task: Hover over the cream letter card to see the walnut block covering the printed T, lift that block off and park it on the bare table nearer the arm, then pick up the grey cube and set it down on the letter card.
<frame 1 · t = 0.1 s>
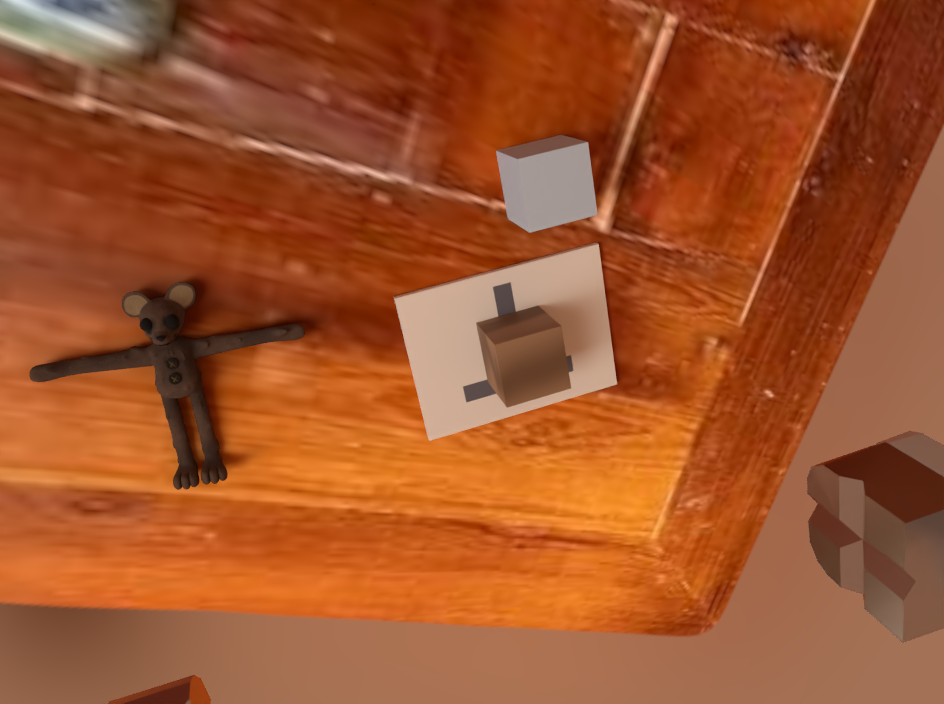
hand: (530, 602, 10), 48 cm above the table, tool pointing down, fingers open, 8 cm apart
letter card: (510, 341, 62), on the table
grey cube: (534, 176, 58), on the table
walnut block: (512, 344, 62), point 1 cm above the table, touching letter card
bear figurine: (182, 378, 57), on the table
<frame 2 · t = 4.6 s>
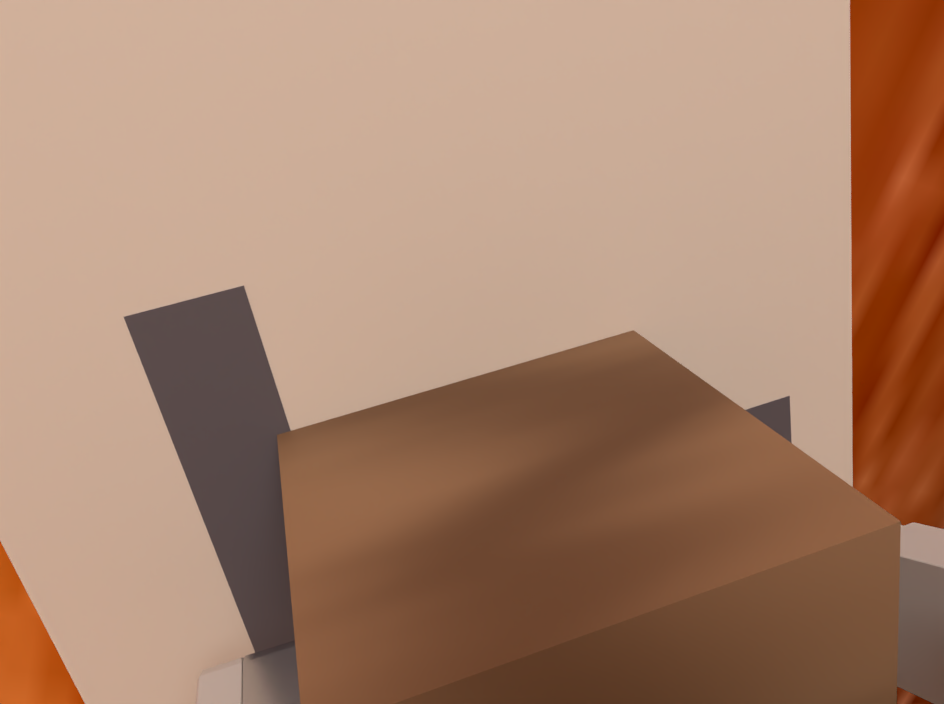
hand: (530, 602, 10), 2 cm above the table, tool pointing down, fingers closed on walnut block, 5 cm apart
letter card: (484, 514, 12), on the table
walnut block: (495, 532, 12), point 1 cm above the table, touching gripper, letter card
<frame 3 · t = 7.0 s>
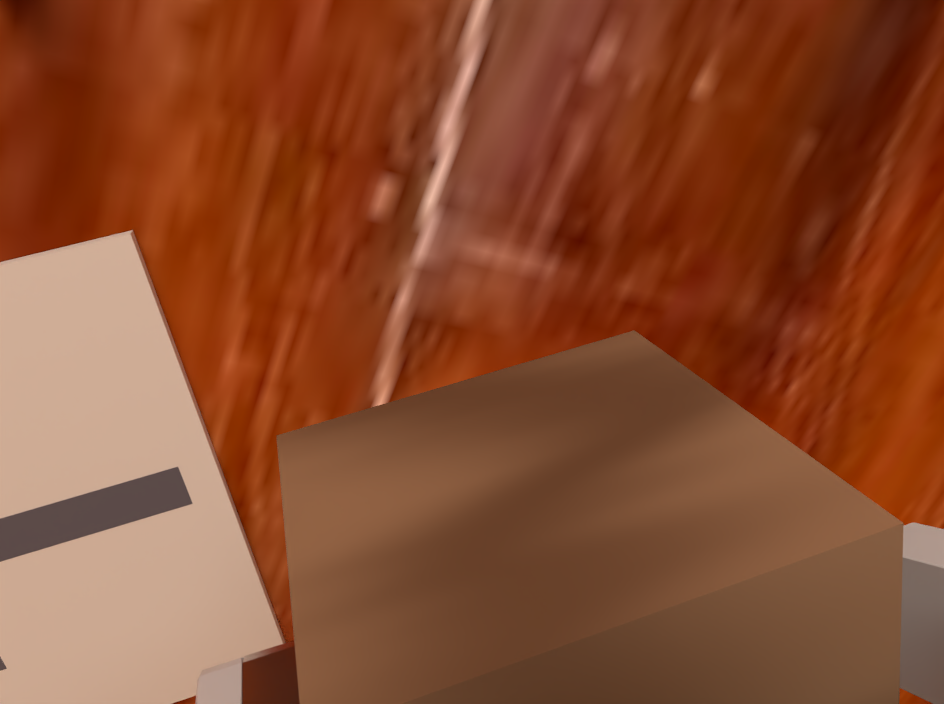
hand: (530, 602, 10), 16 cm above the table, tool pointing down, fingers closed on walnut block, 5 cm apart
letter card: (27, 524, 25), on the table
walnut block: (496, 533, 12), point 15 cm above the table, touching gripper
when the fingers open (3 cm above the table, at t = 9.7 s): walnut block drops 2 cm, on the table.
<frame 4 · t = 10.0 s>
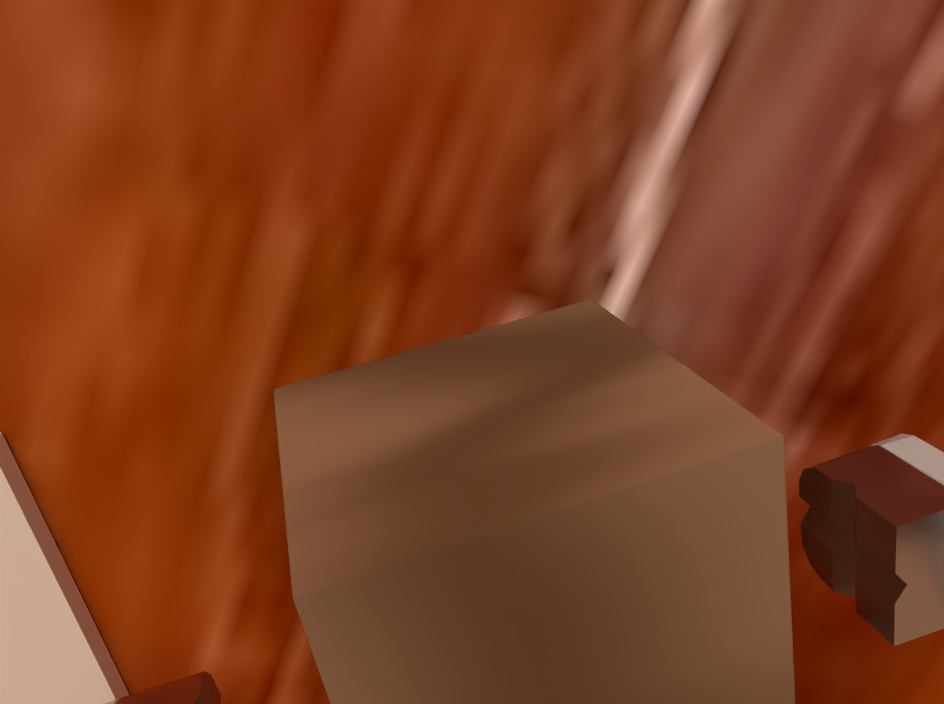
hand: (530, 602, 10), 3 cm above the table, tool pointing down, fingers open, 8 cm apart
walnut block: (468, 479, 13), on the table
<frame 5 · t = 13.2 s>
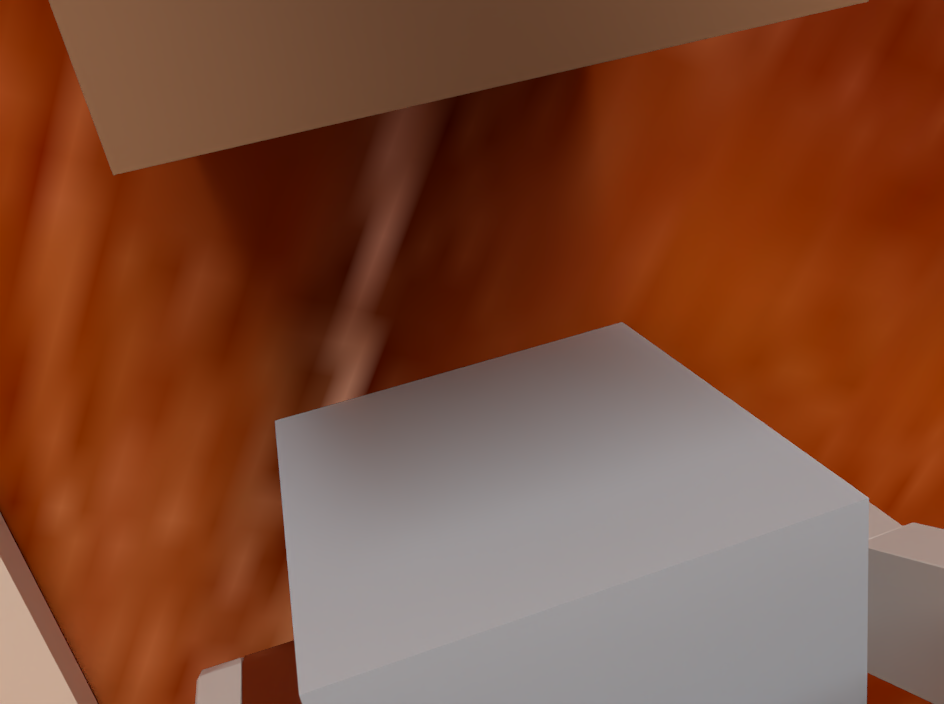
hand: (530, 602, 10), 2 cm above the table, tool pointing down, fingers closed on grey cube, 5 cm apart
grey cube: (487, 518, 12), on the table, touching gripper
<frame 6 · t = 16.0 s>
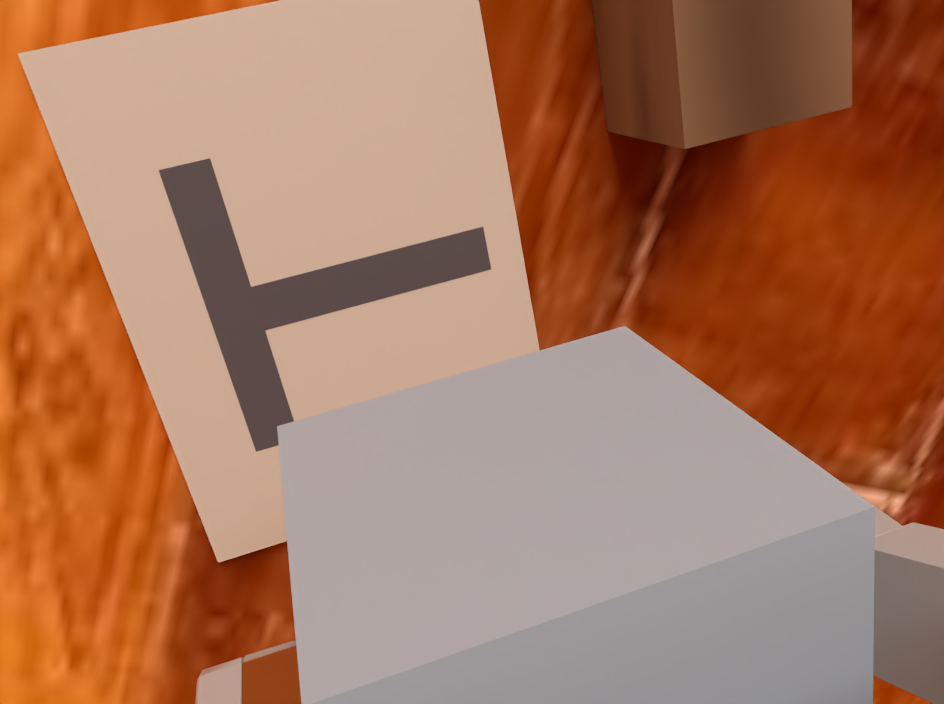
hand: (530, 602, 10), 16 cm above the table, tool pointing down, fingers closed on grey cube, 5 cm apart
letter card: (332, 284, 25), on the table
grey cube: (490, 523, 12), point 14 cm above the table, touching gripper
walnut block: (670, 31, 25), on the table
when the fingers open (4 cm above the table, at t = 18.6 s): grey cube drops 1 cm, resting on letter card.
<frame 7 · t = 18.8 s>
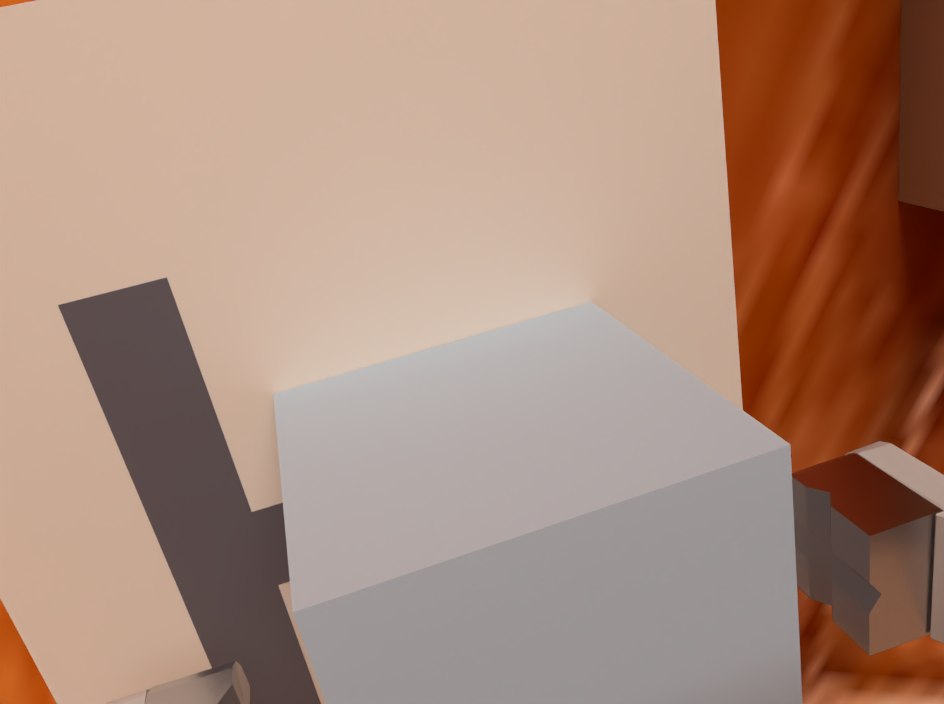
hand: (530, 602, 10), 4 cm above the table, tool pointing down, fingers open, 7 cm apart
letter card: (401, 488, 13), on the table
grey cube: (470, 485, 13), point 1 cm above the table, touching letter card
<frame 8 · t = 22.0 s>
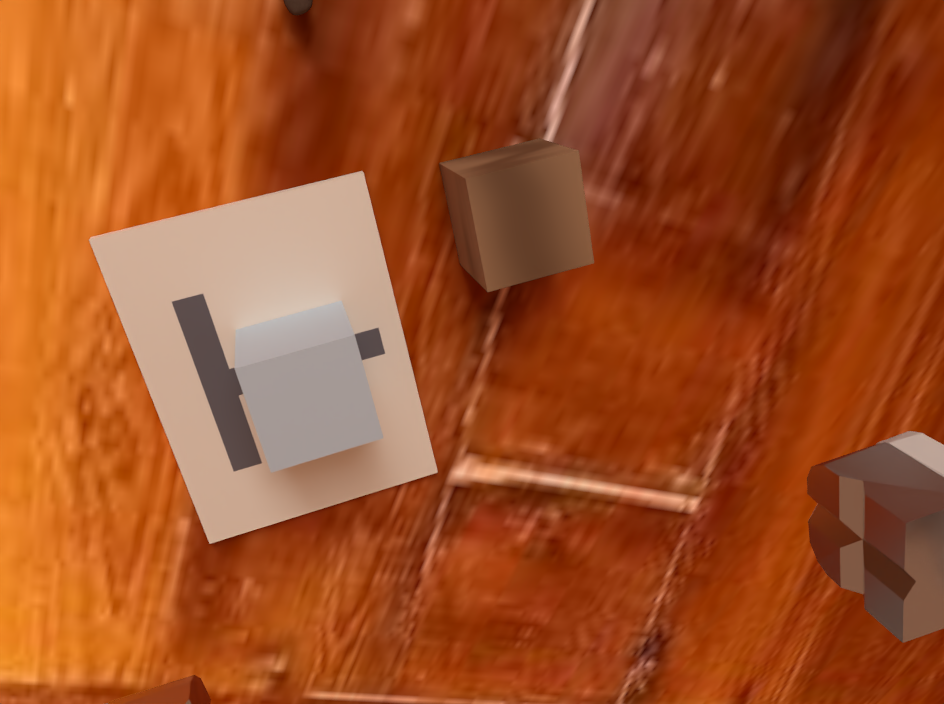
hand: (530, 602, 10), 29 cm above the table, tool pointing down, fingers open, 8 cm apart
letter card: (281, 364, 39), on the table
grey cube: (304, 362, 38), point 1 cm above the table, touching letter card
walnut block: (498, 202, 39), on the table
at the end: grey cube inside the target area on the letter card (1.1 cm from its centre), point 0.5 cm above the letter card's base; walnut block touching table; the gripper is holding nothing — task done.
